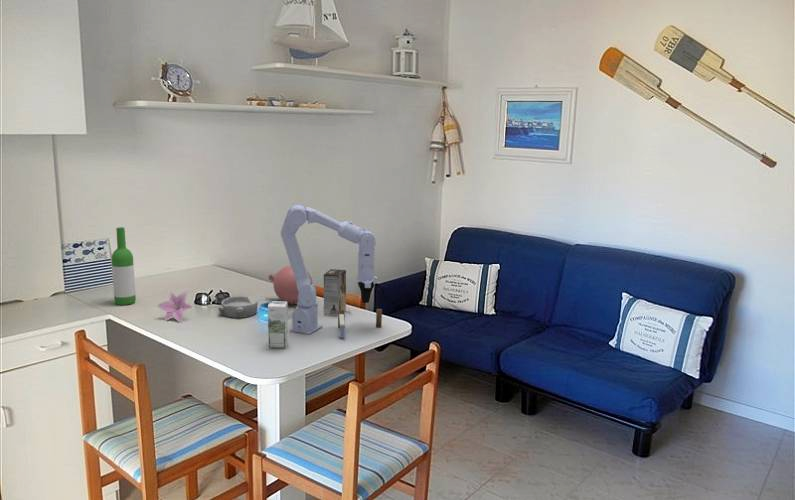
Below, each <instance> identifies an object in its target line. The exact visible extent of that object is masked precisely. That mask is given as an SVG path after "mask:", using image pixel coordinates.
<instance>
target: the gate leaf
mask: <svg viewBox="0 0 795 500" xmlns="http://www.w3.org/2000/svg"><path fill="white" fill-rule="evenodd" d="M339 320H340V329H339V336H340V339H344V338H345V328H344V326H345V325H346V323H344V314H339Z"/></svg>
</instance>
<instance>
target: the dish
mask: <svg viewBox="0 0 795 500" xmlns="http://www.w3.org/2000/svg"><path fill="white" fill-rule="evenodd" d="M217 309H218V311H219V313H221V314H222V315H223V316H225V317H228V318H237V319H238V318H241V319H242V318H249V317H252V316H254V315H255V314H256V313H257V312H258V311H257V310H258V301H257V300H256V301H255V302H253V303H252V302H251V300H250V299H249V297H248V296H246V295H236V296H228V297H227V298H224V299H223V300H222V301H221V303H220V306H219V307H218V308H217Z"/></svg>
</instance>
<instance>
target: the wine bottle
mask: <svg viewBox="0 0 795 500" xmlns="http://www.w3.org/2000/svg"><path fill="white" fill-rule="evenodd" d="M125 230H126V229H125V227H122V226H121V227H116V242H117V243H116V244H117V248H116V249H115V250H114V251H113V252H112V254H111V269H112V285H113V298H114V299H113V300H114V303H115V305H119V306H128V305H132V304H134V303H135V302H136V300H137V296H136V285H135V284H136V283H135V267H134V266H135V265H134V264H135V263H134V255H133V253H132V251H131V250H129V249H128V247H127V244H126V243H127V242H126V231H125Z"/></svg>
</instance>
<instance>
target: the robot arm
mask: <svg viewBox="0 0 795 500" xmlns="http://www.w3.org/2000/svg"><path fill="white" fill-rule="evenodd" d="M306 222H307V224H308V225H309V224H313V223H314V224H315V223H317V224H320V225H322V226H325V227H326V228H329V229H331V230H333V231H336V232H337V234H338V236H339V237H341V238H342V239H345V240H347V241H349V242H351V243H353V244H357V245H358V255H357V256H358V257H357V259H358V260H357V263H358V264H357V279H356V280H358V281H357V285H358V288H359V291H360V293H361V300H362V303H364V304H369V302H370V299H371V295H372V291H373V289H374V287H375V283H374V281H375V280H378V276H375V257H376V256H375V246H376V244H377V241H376V238H375V235H374V234H373V233H372V232H371V231H370V230H369V229H366V228H365V227H359V226H357V225H355V224H354V222H353V221H350V220H349V221H343V222H341V221H338V220H336V219H335V218H332V217H330V216H328V215H327V214H324V213H323V212H321V211H319V210H317V209H314V208H312V207H310V206H305V205H304V204H303V203H302V204H301V203H296V204H292V205H291V207H290V209H288V211H287V212H286V215H285V218H284V221H283V224H282V227H281V230H280V237H281V239H282V242H283V246H284V248H285V251H286V256H287V257H288V262H289V264H290V265H291V267H292V270H293V273H294V277H295V280H296V284H297V289H298V292H299V294H298V302H297V303H296V307H295V309H294V310H293V311H292V314H291V316H292V317H291V321H292V322H291V323H292V325H291V326H292V327H291V328H290V329H289V331H290V332H295V333H300V334H301V333H302V334H307V335H310V334H312V333H314V332H315V331H317V330H319V329H320V328H323V325H322V324H319V321H318V317H319V313H318V310H319V307H318V306H319V305H318V304H319V303H318V301H317V288H316V286H315V284H313V282H312V283H311V280H310V278H309V276H308V273H309V272H308V273H307V271H308V270H307V267H306V264H305V261H304V258H303V254H302V251H301V248H300V244H299V242H298V240H297V237H296V234H297V232H298V231H299V228H301V227H302V226H303V225H304V224H305V223H306Z"/></svg>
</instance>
